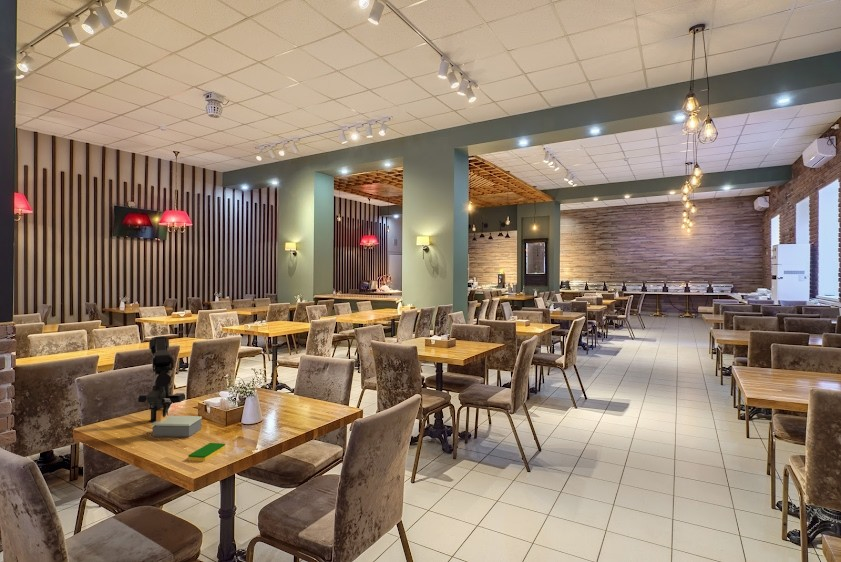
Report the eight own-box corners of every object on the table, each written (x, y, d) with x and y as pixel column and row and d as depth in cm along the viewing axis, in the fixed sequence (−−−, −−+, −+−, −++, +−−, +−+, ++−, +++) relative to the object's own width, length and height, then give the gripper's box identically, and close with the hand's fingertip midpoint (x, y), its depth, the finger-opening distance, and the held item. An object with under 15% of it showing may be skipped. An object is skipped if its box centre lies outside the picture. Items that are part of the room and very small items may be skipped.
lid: (151, 427, 197) (152, 413, 197) (166, 419, 208) (166, 405, 208) (189, 428, 197) (189, 414, 197) (201, 420, 208) (202, 406, 208)
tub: (152, 437, 197) (152, 426, 197) (166, 428, 208) (166, 419, 208) (188, 437, 197) (188, 427, 197) (201, 429, 208) (201, 419, 208)
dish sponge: (225, 449, 185) (225, 443, 185) (204, 462, 171) (204, 456, 171) (210, 448, 186) (210, 442, 186) (187, 461, 172) (187, 455, 172)
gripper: (129, 386, 195) (129, 422, 195) (172, 386, 195) (172, 422, 195) (145, 380, 206) (145, 414, 206) (186, 380, 206) (185, 414, 206)
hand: (161, 416), depth 203 cm, fingers closed on lid
